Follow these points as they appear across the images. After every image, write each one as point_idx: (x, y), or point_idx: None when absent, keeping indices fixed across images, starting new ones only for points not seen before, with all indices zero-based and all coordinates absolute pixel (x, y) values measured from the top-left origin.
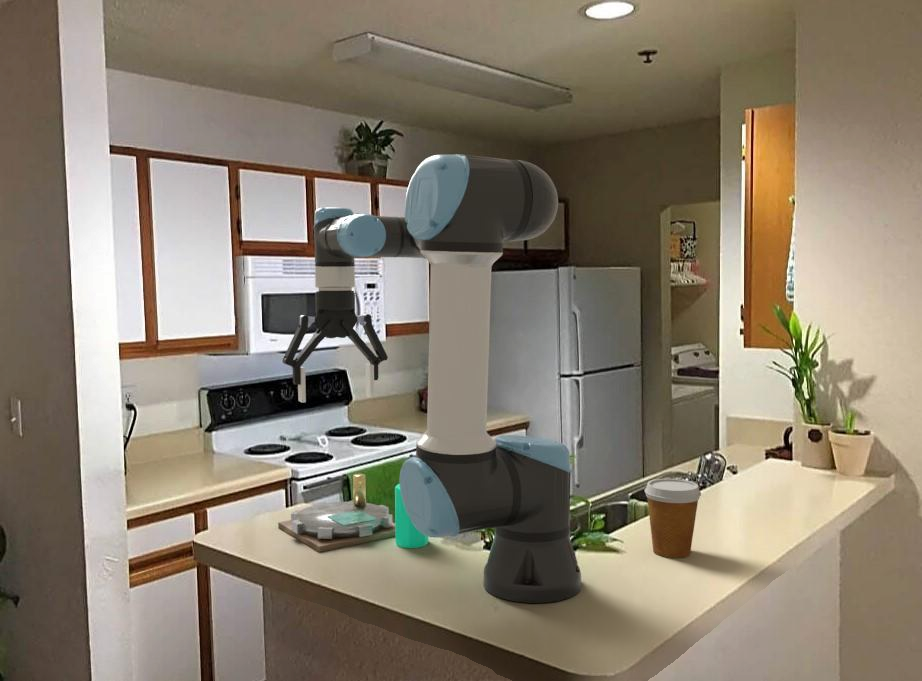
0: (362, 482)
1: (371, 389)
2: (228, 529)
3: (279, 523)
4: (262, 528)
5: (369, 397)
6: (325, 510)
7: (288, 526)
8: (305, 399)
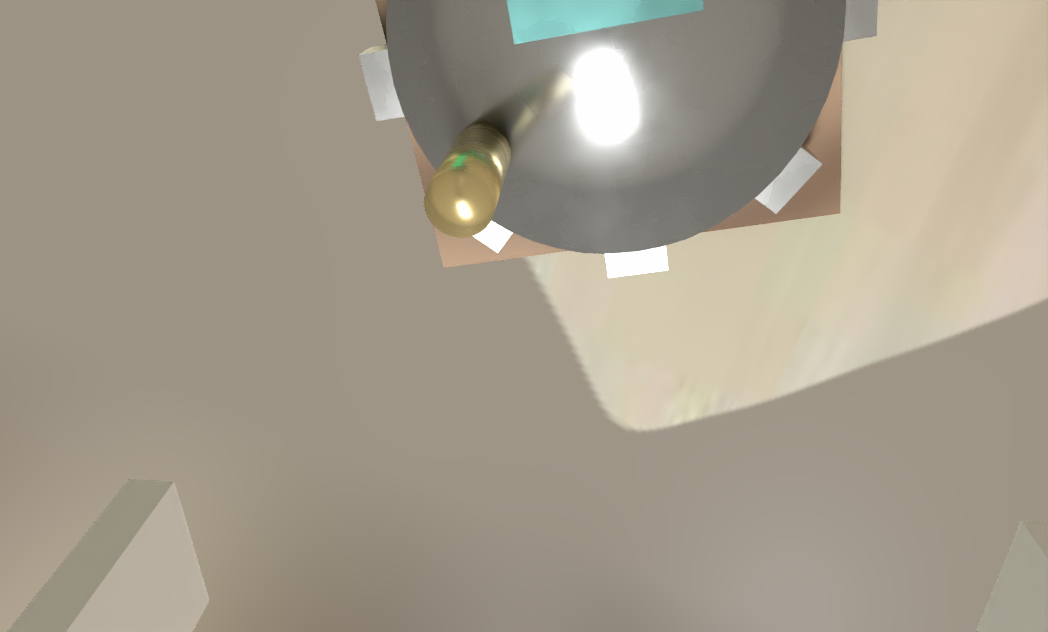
0: (456, 159)
1: (101, 559)
2: (1019, 270)
3: (839, 200)
4: (895, 222)
5: (181, 515)
6: (660, 136)
7: (828, 131)
8: (1042, 551)
